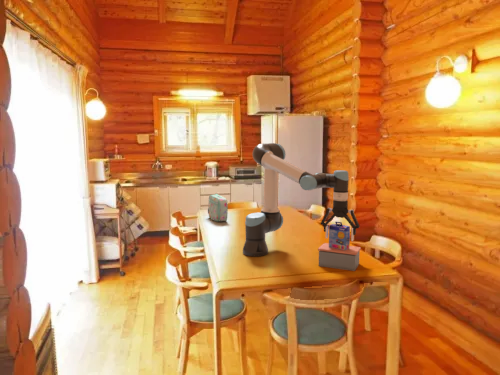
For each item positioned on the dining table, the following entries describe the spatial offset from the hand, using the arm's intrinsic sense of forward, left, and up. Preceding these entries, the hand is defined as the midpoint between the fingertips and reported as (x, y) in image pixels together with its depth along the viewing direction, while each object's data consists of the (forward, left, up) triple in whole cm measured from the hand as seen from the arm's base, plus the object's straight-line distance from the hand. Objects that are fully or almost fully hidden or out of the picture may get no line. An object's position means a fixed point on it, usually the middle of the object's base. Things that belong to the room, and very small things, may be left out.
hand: (339, 239), depth 203 cm
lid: (0, 0, -6) cm, 6 cm away
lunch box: (-118, +72, -14) cm, 139 cm away
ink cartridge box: (0, 0, -5) cm, 5 cm away
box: (0, 0, -14) cm, 14 cm away
